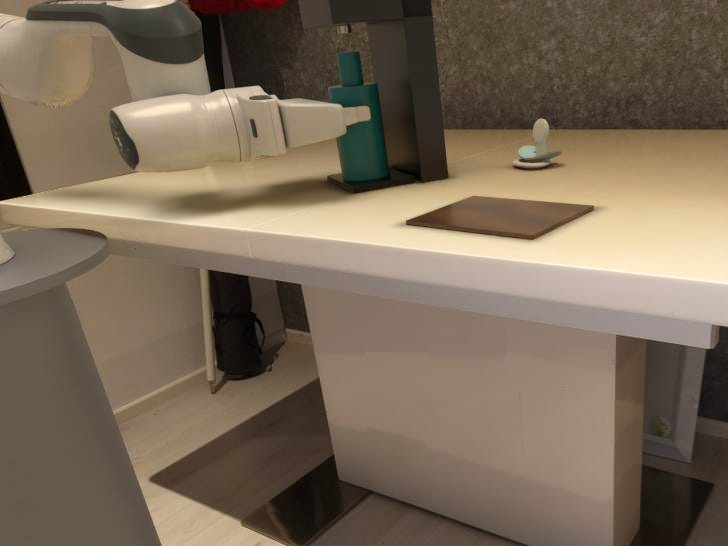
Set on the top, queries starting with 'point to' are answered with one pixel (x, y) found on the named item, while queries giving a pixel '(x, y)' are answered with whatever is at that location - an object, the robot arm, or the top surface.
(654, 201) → the top surface
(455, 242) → the top surface
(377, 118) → the bottle
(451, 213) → the board
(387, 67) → the dark post on base
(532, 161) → the pacifier
